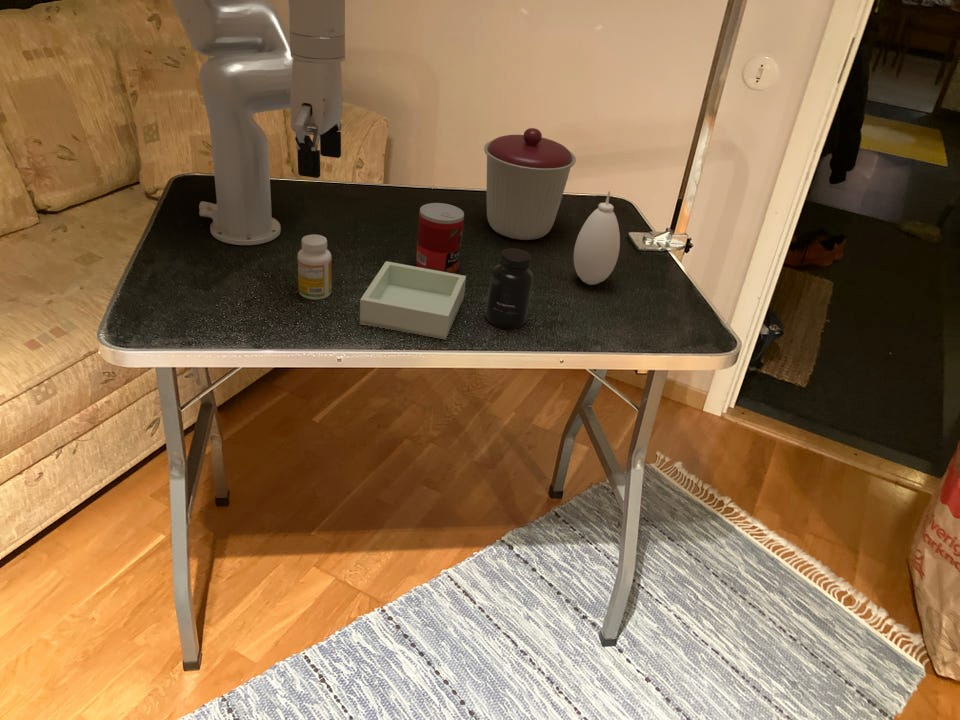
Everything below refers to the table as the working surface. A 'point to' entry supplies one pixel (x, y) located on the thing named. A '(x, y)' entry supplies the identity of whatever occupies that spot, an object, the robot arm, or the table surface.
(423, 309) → the bin
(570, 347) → the table surface
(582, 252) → the air blower bulb
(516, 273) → the supplement bottle
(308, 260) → the supplement bottle
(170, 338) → the table surface
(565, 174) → the canister
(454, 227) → the canned food
